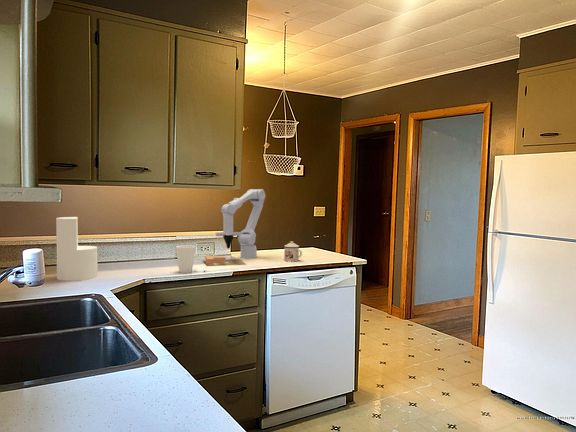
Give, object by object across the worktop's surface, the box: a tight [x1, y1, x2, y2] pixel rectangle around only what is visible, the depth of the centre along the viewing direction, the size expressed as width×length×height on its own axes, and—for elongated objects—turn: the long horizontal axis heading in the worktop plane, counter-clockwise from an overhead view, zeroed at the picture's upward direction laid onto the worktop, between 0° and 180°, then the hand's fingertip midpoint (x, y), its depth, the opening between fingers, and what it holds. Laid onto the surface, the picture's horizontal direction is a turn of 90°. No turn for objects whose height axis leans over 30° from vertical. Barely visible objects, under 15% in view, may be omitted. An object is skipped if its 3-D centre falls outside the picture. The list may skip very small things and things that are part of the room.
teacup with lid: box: [283, 241, 303, 262], centre depth 268 cm, size 12×9×12 cm
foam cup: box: [175, 244, 196, 274], centre depth 227 cm, size 10×9×13 cm
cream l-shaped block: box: [55, 216, 99, 282], centre depth 209 cm, size 17×17×28 cm
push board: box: [201, 258, 247, 267], centre depth 251 cm, size 22×20×1 cm
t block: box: [204, 255, 227, 265], centre depth 251 cm, size 10×12×3 cm
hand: (228, 248), depth 259 cm, fingers closed
